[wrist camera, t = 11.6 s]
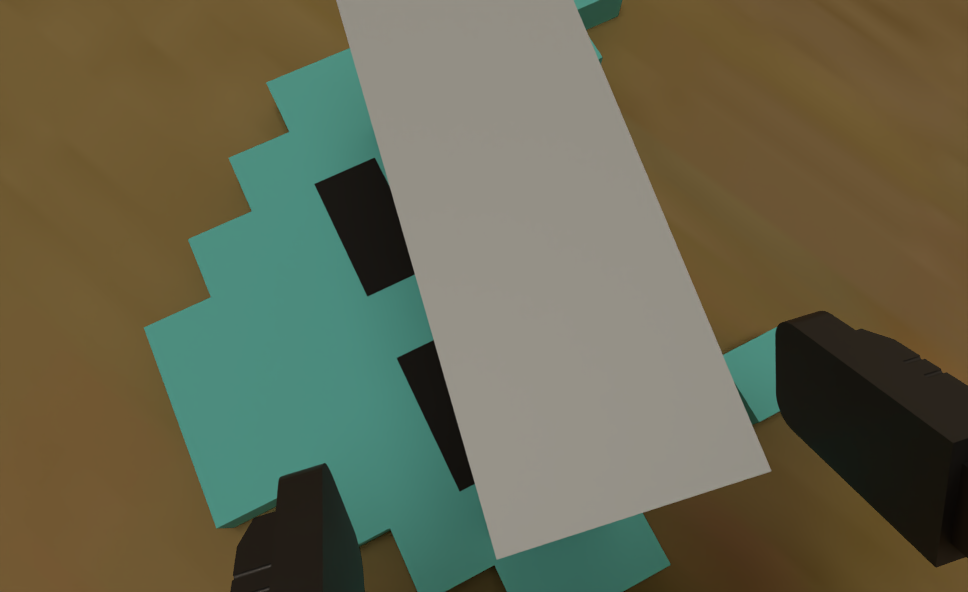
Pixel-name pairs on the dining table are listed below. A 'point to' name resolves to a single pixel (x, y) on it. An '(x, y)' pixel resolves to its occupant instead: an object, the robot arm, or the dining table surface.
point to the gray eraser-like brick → (545, 269)
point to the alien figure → (358, 358)
